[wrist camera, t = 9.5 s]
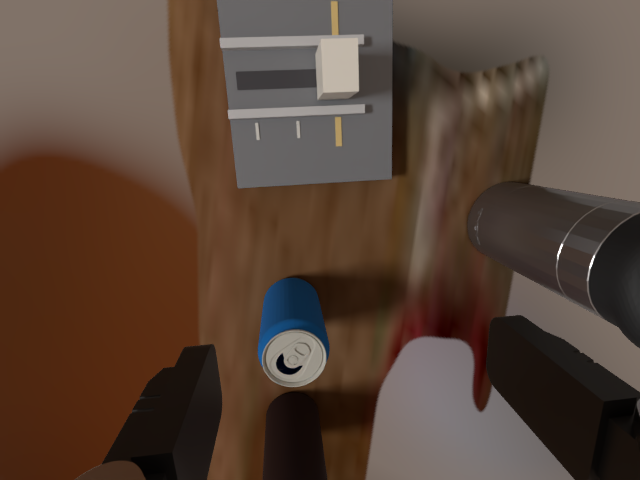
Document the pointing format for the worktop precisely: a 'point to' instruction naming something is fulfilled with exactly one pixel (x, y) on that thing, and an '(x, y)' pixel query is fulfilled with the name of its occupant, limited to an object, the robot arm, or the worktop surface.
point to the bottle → (293, 440)
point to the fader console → (306, 91)
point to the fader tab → (337, 68)
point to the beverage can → (292, 334)
